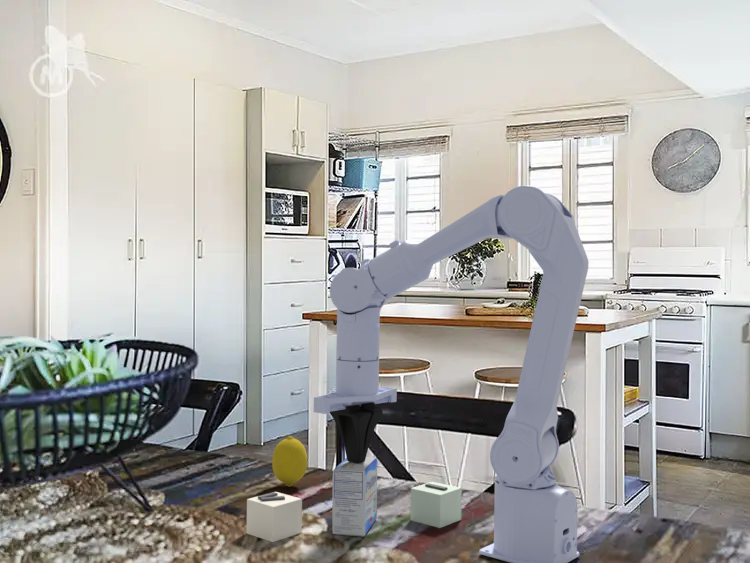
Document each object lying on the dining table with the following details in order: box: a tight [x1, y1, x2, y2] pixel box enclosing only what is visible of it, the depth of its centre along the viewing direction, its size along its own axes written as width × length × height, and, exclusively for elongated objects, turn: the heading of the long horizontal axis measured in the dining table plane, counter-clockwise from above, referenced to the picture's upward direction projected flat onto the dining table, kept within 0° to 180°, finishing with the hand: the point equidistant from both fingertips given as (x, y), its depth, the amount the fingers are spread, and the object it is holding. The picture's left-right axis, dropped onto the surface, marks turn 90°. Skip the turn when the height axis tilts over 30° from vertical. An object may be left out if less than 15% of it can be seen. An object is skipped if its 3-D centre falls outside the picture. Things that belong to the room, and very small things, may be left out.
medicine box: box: [331, 456, 378, 538], centre depth 105 cm, size 8×4×9 cm, turn 168°
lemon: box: [271, 435, 308, 487], centre depth 125 cm, size 6×6×8 cm
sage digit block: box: [409, 481, 463, 529], centre depth 109 cm, size 5×5×5 cm
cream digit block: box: [245, 491, 303, 543], centre depth 102 cm, size 5×5×5 cm
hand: (356, 461), depth 105 cm, fingers closed
